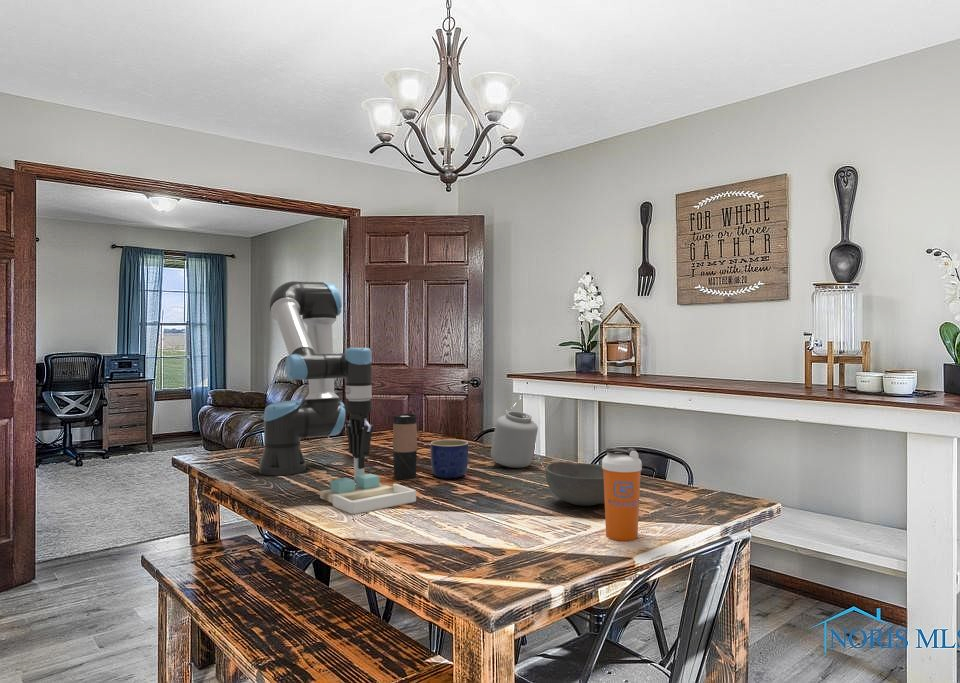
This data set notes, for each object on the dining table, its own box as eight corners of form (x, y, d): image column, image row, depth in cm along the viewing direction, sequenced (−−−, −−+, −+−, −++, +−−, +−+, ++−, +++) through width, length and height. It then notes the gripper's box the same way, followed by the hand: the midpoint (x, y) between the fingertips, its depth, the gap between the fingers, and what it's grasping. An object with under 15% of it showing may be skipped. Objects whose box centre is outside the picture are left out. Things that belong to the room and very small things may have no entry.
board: (320, 497, 181) (320, 490, 181) (375, 488, 192) (375, 481, 192) (336, 505, 173) (336, 497, 173) (393, 494, 185) (393, 487, 185)
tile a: (355, 486, 186) (355, 475, 186) (370, 483, 190) (370, 473, 190) (364, 489, 183) (364, 478, 183) (379, 486, 186) (379, 476, 186)
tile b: (330, 490, 181) (330, 479, 181) (346, 487, 185) (346, 477, 184) (338, 493, 177) (338, 483, 177) (354, 491, 181) (354, 480, 181)
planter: (423, 478, 205) (423, 444, 205) (440, 470, 217) (440, 438, 217) (459, 481, 201) (459, 446, 201) (474, 473, 212) (474, 440, 212)
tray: (332, 505, 173) (332, 494, 173) (396, 493, 186) (395, 483, 185) (352, 514, 164) (352, 502, 164) (417, 501, 177) (417, 490, 177)
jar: (550, 466, 224) (550, 394, 223) (526, 473, 212) (526, 398, 212) (506, 459, 235) (506, 391, 235) (482, 466, 224) (482, 394, 224)
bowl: (574, 518, 160) (574, 479, 160) (531, 500, 178) (531, 464, 178) (636, 508, 170) (636, 471, 170) (589, 491, 188) (589, 457, 188)
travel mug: (412, 480, 203) (412, 417, 203) (389, 478, 204) (389, 416, 204) (419, 474, 210) (419, 414, 210) (397, 473, 212) (397, 413, 212)
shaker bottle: (597, 530, 151) (597, 446, 150) (634, 529, 151) (634, 445, 151) (608, 543, 142) (608, 453, 142) (647, 541, 143) (647, 452, 142)
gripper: (337, 398, 192) (337, 477, 192) (358, 402, 182) (358, 484, 182) (359, 397, 197) (359, 473, 197) (381, 400, 187) (381, 480, 187)
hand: (359, 478), depth 190 cm, fingers closed
